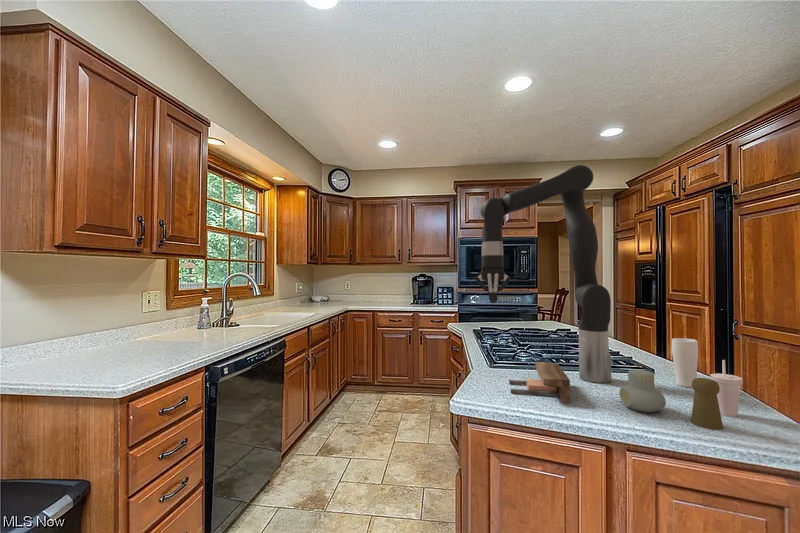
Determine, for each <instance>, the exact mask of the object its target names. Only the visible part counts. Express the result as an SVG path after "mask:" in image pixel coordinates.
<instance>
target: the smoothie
mask: <svg viewBox="0 0 800 533" xmlns="http://www.w3.org/2000/svg"><path fill="white" fill-rule="evenodd" d="M721 361H722V363H721V364H722V367H721V368H722V373H711V374H710V377H709V379H711V380H714V381H716V382H717V383H718V384H719V387H720V391H719V393H718V394H717V398H718V403H719V408H720V414H721V416H726V417H731V418H732V417H737V416H738V412H739V402H740V396H741V390H742V384H743V383H744V381H743V378H742V377H739V376H737V375H733V374H727V373H726V360H725V359H722V360H721Z"/></svg>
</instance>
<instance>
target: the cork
mask: <svg viewBox="0 0 800 533" xmlns="http://www.w3.org/2000/svg"><path fill="white" fill-rule="evenodd" d="M692 389H693V391H694V393H693V394H694V396H693V403H692V409H691V417H690V423H692V425H694V426H697V427H699V428H703V429H707V430H712V431H713V430H715V431H721V430H723V429H724V425H723V420H722V414H720V408H719V403H718V398H717V394H718V393H719V391H720V387H719V384H718V383H717V382H716V381H714V380H712V379H710V378H705V377H696V378H695V379H694V380H693V381H692Z"/></svg>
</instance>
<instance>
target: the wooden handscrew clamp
mask: <svg viewBox="0 0 800 533" xmlns="http://www.w3.org/2000/svg"><path fill="white" fill-rule="evenodd" d="M535 369H536V372H537V374H538V376H539V378H540V380H541V381H542V383H543V385H545V386H556V390H557V392H553V391H539V390H528V389H525V388H524V389H522V388H510V394H515V395H525V396H528V395H529V396H539V395H541V396H542V397H553V396H555V397H557V398H560V400H561V402H562V403H563V402H564V404H565V403H566V404H571V380H570V378H569V377H568V376H567V374H566V373H565V371H564V370H563V369H562V368H561V366H560V365H559V363H557V362H556V363H555V362H540V361H539V362H537V361H536V362H535ZM508 381H509V385H517V386H526V380H519V379H509V380H508ZM541 396H540V397H541Z"/></svg>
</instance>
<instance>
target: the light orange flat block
mask: <svg viewBox="0 0 800 533" xmlns="http://www.w3.org/2000/svg"><path fill="white" fill-rule="evenodd" d="M525 381H526V385H525V386H526V390H539V391H553V392H557V390H556V386H545V385H543V383H542V381H541V379H537V378H535V379H534V378H526V380H525Z"/></svg>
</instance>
